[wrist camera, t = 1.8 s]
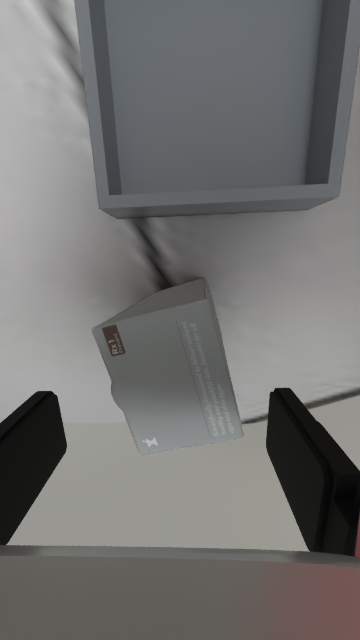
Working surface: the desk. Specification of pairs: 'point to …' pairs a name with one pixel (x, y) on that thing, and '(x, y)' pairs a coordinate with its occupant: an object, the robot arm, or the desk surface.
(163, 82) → the bin
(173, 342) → the skincare box
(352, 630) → the robot arm
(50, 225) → the desk surface
